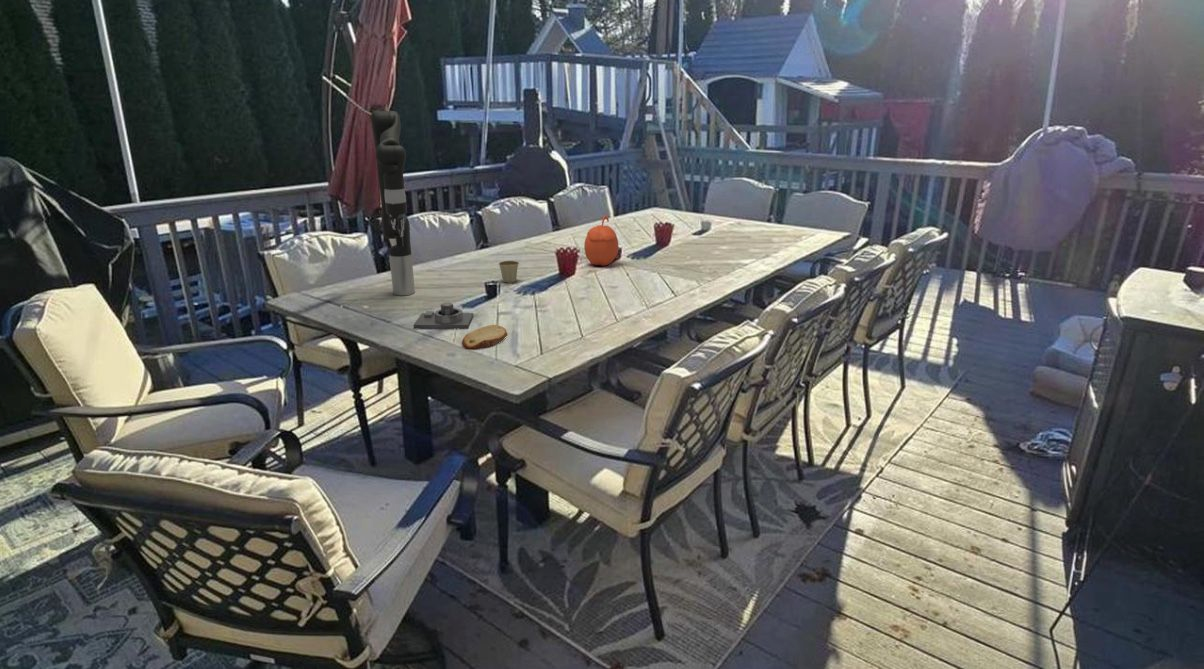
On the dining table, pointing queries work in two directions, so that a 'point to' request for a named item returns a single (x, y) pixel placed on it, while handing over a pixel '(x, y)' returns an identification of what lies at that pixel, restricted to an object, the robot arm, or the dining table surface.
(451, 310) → the domed grey cylinder
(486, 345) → the slice of bread
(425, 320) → the camera plate
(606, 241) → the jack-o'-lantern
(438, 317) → the grey thick ring
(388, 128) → the robot arm
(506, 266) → the flower pot
